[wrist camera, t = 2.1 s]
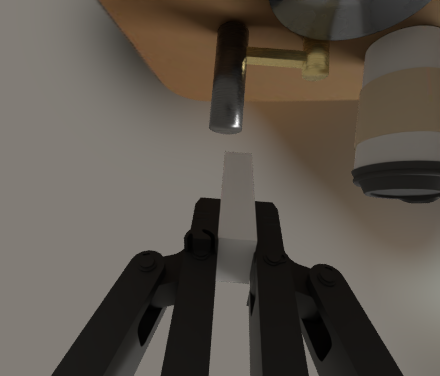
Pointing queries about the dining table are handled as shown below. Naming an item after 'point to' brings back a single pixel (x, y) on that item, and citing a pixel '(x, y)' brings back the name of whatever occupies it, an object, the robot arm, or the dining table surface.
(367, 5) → the plate
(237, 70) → the lever
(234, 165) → the robot arm
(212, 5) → the dining table surface
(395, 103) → the coffee cup
